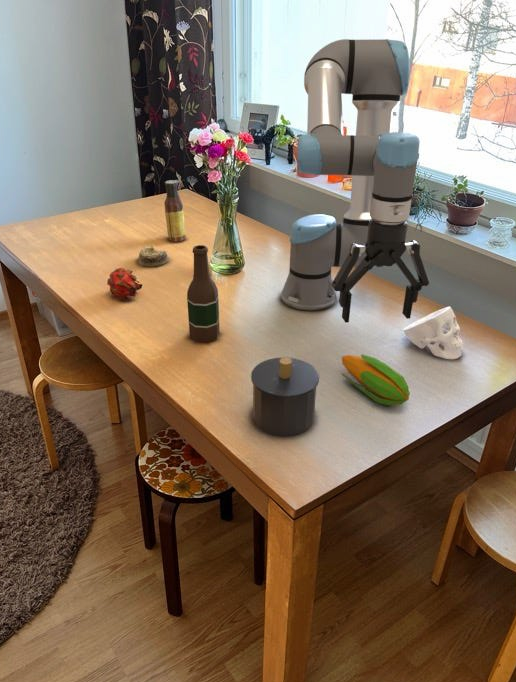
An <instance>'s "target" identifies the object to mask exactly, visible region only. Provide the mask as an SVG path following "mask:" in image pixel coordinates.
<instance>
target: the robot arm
mask: <svg viewBox="0 0 516 682" xmlns="http://www.w3.org/2000/svg"><path fill="white" fill-rule="evenodd" d="M303 83H304V84H303V86H304V87H303V88H304V90H305V93H306V94H307V122H306V123H307V124H306V125H307V127H306V128H307V129H306V130H307V131H306V134H301V135H299V137H298V139H297V157H296V159H297V162H296V163H297V164H296V169H297V172H298V173H299V174H302V175H304V174H305V175H313V176H352V177H351V178H352V179H351V189H350V190H351V191H350V204H349V210H348V211H347V212H346V213H344V215H343V216H342V217H343V218H342V222H337V221H336V219H335V217H334V216H332V215H330V214H327V215H326V214H322V213H321V214H319V213H317V214H309V215H306V216H303V217H300V218H298V219H297V220H295V221H294V222H293V223H292V226H291V231H290V237H289V242H290V248H289V249H290V250H289V252H290V253H289V272H288V275H287V277H286V281H285V282H284V285H283V288H282V291H281V299H282V302H283V303H284V304H285V305H287V306H288V307H290V308H293V309H296V310H301V311H310V312H311V311H320V310H321V311H322V310H325V309H327V308H330V307H332V306H333V305H334V304H335V302H336V295H337V293H336V292H339V297H338V298H339V299H338V303H339V306H340V307H341V308H342V309H341V310H342V312H341V318H342V320H343V321H344V323H350V316H351V315H350V314H351V305H352V296H353V293H352V292H351V290H352V289H353V288H354V287H355V286H356V285H357V283H359V281H360V280H361V279H362V278H363V277H364V276H365V275H366V274H367V273H368V272H369V271H371V270H372V269H377V268H382V267H392V266H393V265H396V266H397V267H398V269H399V270H400V271H401V273H402V274H403V276H404V277H405V278H406V280H407V281H408V283H409V284H408V285H407V284H406V286H405V287H406V288H405V294H404V299H403V307H402V315H403V316H404V318H406V319H407V320H409V319H411V317H412V310H413V305H414V304H415V303H417V301H418V297H419V292H420V291H422V289H423V288H422V287H427V286H429V285H430V284H429V283H430V281H429V277H428V275H427V272H426V269H425V266H424V263H423V261H422V257H421V254H420V253H421V245H420V244H419V243H418V242H417V241H416V240H415V239H412V240H410V242H406V239H407V235H408V227H409V222H408V220H409V219H410V213H411V205H412V200H413V191H414V185H415V179H416V171H417V168H418V166H417V165H418V161H419V159H420V153H419V152H420V143H421V141H420V138H419V136H417V135H416V134H412V133H409V132H400V131H394V132H393V131H391V130H392V121H393V111H394V110H395V108H397V106H398V105H399V104H401V96H402V97H403V96H406V94H407V93H408V91H409V83H410V55H409V49H408V47H407V45H406V43H405V42H403V41H402V40H396V39H389V38H386V39H383V38H382V39H349V38H344V39H343V38H342V39H338V40H335V41H332V42H330V43H327V44H325V46H323V47H322V48H321V49H319V50H318V51H317V52H316V53H315V54H314V55H313V56H312V57H311V58H310V60H309V62H308V63H307V65H306V68H305V71H304V76H303ZM343 95H352V99H351V104H352V105H353V106H354V107H355V108H356V111H357V114H356V116H357V117H356V125H355V126H356V127H355V135H354V134H353V135H352V134H350V135H349V134H348V135H347V134H344V119H343V98H342V96H343ZM405 252H407V253H408V254H409V256H410V259H411V261H412V264H413V267H414V270H415V272H416V275H417V278H416V277H415V276H414V274H413V273H412V272H411V271H410V269H409V268H408V267H407V265H406V263H405V262H404V260H403V259H402V258H401V257H402V256H403V255H404V254H405ZM332 267H333V268H339V270H338V271H337V273H336V275H335V277H334V278H332ZM353 268H355V269H353ZM352 270H353V271H352Z"/></svg>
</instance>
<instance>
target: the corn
mask: <svg viewBox="0 0 516 682" xmlns="http://www.w3.org/2000/svg"><path fill="white" fill-rule="evenodd" d="M341 364H342V365H343V367H344V368H345V369H346V371H347V372H348V373H349V375H351V376H352V377H353V378H354V379H355V380H356V381H357V382H358V383H359V384H360V385H361V386H360V385H359V384H357V382H354V381H353V380H351V379H350V378H349V377H347V376H346V375H345V374H343V373H341V375H342V376H343V377H344V379H346V380H347V381H348V382H349V383H350V384H352V385H353V386H354V387H356V388H357V389H358V390H359V391H361V392H362V393H363V394H365V395H366V396H368V397H369V398H370V399H371V400H372V401H374V402H376V403H378V404H381V405H384V406H399V405H400V406H401V405H403V404H405V403H406V402H407V401H409V399H410V394H411V391H410V389H409V387H410V386H409V385H408V383H407V381H406V379H405V377H404V376H403V375H402V374H401V373H399V372H397V371H396V370H395V369H393V367H391V366H389V365H388V364H386V363H385V362H384V361H381V360H379V359H377V358H376V357H372V356H369V355H366V354H361V355H360V356H358V355H355V354H354V355H353V354H346V355H342V356H341Z"/></svg>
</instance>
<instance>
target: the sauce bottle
mask: <svg viewBox="0 0 516 682" xmlns="http://www.w3.org/2000/svg"><path fill="white" fill-rule="evenodd" d="M164 186H165V191H166V197H165V199H164V212H165V213H164V214H165V223H166V231H167V236H168V237H167V238H168V240H169V241H171V242H174V243H180V242H183V241H185V240H186V238H187V236H186V235H187V231H186V222H185V214H184V205H183V203H182V200H181V198H180V195H179V192H178V181H177V180H176V179H175V180H174V179H170V180H166V181H165V182H164Z"/></svg>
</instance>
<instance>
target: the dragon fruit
mask: <svg viewBox="0 0 516 682" xmlns="http://www.w3.org/2000/svg"><path fill="white" fill-rule="evenodd" d="M106 284H107V286H109V291H110V293H111V295H112V296H117V297H118V298H120V299H121V300H123V301H130V299H129V297H136V296H137V294H138V292H137V291H139V290H141V289H142V288H143V283H140V281H138V280H137V277H136V275H134V274H133V270H131V269H126V268H124V267H119V268H115V269H113V271H112V272H110V274H109V278H107V283H106Z"/></svg>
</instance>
